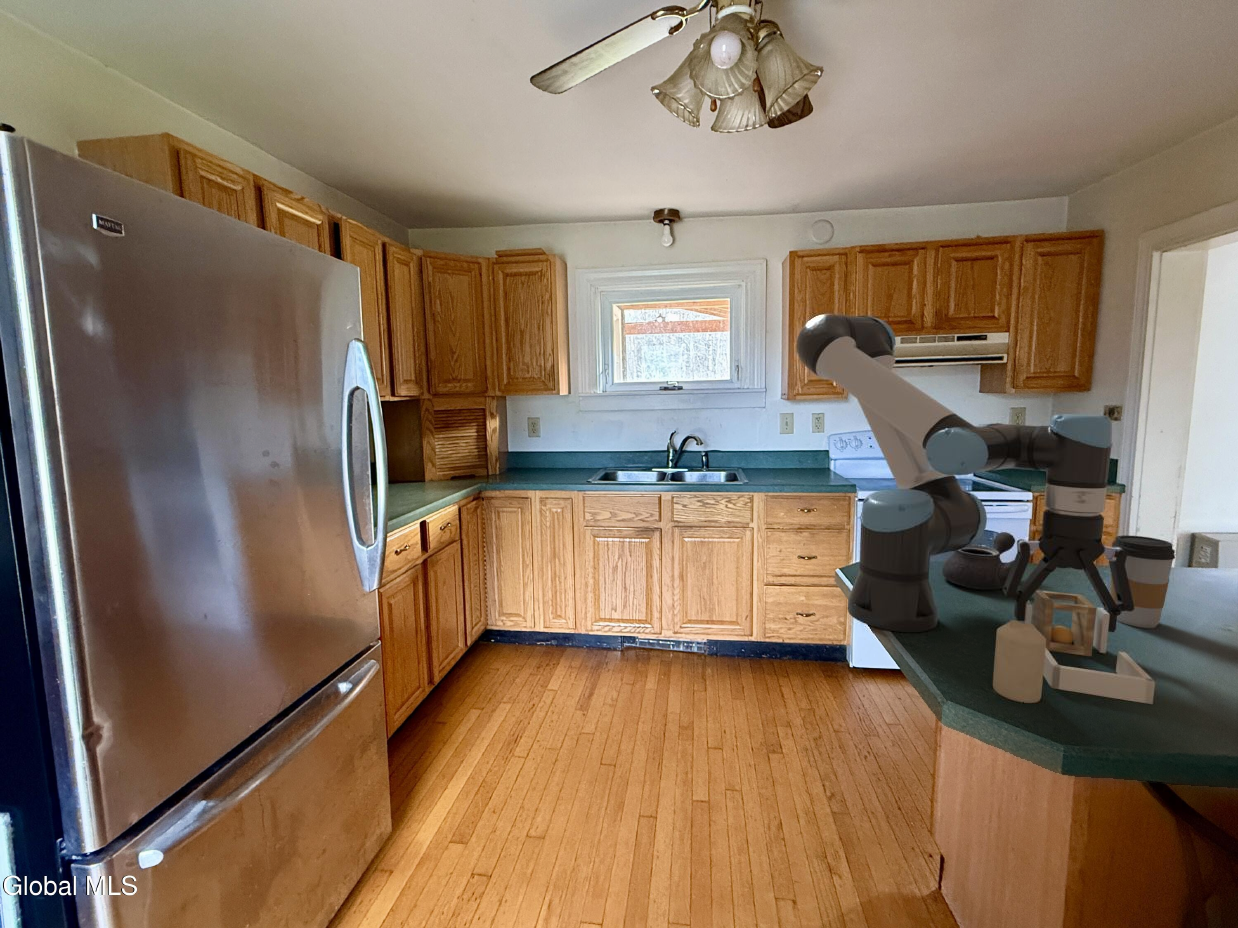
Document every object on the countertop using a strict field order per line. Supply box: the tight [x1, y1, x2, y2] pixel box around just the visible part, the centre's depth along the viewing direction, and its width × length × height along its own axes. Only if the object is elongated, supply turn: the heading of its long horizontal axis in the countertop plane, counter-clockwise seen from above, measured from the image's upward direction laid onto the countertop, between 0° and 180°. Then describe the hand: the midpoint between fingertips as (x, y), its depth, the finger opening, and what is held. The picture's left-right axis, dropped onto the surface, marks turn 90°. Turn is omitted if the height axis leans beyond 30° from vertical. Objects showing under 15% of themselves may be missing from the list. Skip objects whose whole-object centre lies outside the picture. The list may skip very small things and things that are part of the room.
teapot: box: [941, 531, 1016, 590], centre depth 120 cm, size 19×15×10 cm
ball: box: [1050, 625, 1074, 645], centre depth 90 cm, size 3×3×3 cm
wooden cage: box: [1031, 589, 1097, 657], centre depth 90 cm, size 6×6×8 cm
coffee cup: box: [1110, 534, 1176, 629], centre depth 98 cm, size 8×8×15 cm
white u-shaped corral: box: [1043, 649, 1156, 705], centre depth 79 cm, size 11×9×3 cm
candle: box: [992, 619, 1046, 704], centre depth 76 cm, size 6×6×10 cm
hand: (1061, 643), depth 90 cm, fingers open, 9 cm apart
